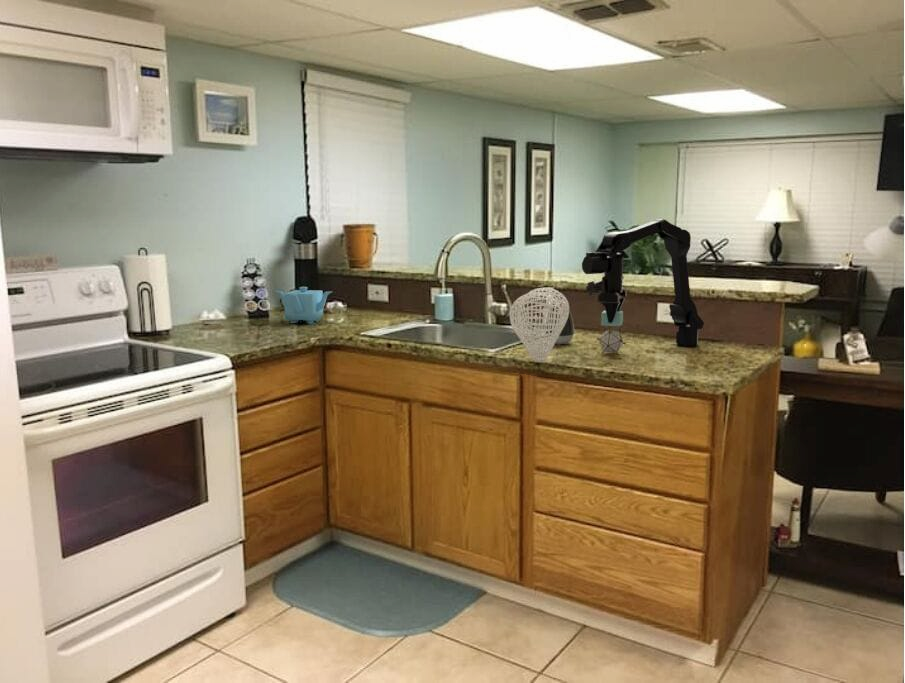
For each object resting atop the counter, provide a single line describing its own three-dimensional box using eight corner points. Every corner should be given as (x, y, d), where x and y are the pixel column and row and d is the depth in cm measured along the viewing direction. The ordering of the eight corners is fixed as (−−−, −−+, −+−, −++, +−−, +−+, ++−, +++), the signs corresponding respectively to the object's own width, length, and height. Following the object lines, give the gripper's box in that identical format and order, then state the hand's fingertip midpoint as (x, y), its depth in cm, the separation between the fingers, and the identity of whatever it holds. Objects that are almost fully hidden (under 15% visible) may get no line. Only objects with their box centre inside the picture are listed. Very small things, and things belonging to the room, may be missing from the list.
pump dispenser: (577, 342, 273) (578, 299, 270) (569, 347, 264) (570, 302, 261) (549, 340, 277) (550, 297, 275) (540, 344, 268) (541, 301, 265)
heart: (556, 373, 223) (558, 296, 219) (504, 370, 228) (504, 294, 224) (571, 355, 250) (572, 286, 246) (524, 352, 254) (524, 284, 250)
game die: (604, 363, 254) (592, 337, 258) (628, 354, 254) (615, 327, 258) (606, 355, 246) (593, 328, 249) (631, 345, 246) (618, 318, 249)
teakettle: (314, 317, 336) (312, 283, 333) (335, 322, 321) (334, 287, 319) (273, 322, 324) (271, 286, 322) (293, 327, 310) (292, 290, 307)
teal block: (622, 323, 252) (623, 311, 252) (620, 326, 247) (620, 313, 246) (604, 322, 254) (604, 310, 254) (601, 325, 249) (601, 312, 248)
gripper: (594, 269, 259) (592, 316, 262) (582, 274, 242) (581, 324, 245) (627, 270, 255) (626, 317, 258) (618, 275, 238) (616, 326, 241)
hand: (612, 321), depth 251 cm, fingers closed on teal block, 6 cm apart
